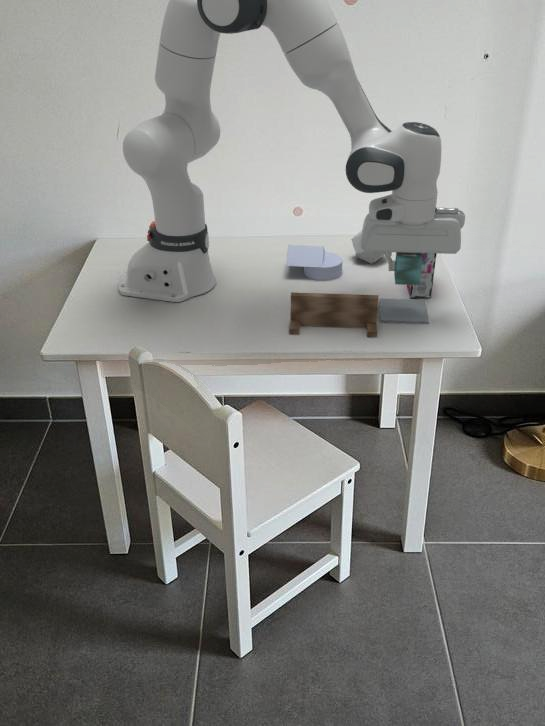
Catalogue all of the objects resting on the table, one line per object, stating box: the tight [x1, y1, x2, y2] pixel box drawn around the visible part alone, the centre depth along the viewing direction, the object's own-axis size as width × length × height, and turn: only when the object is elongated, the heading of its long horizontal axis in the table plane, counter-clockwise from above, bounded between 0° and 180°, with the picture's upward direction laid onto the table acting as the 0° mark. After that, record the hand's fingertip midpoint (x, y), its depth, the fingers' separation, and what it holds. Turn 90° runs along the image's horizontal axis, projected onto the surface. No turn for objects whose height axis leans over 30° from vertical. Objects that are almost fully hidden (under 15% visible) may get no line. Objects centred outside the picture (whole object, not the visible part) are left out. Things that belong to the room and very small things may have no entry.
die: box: [350, 230, 385, 265], centre depth 180 cm, size 8×9×10 cm
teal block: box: [393, 252, 422, 286], centre depth 153 cm, size 5×5×6 cm
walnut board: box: [288, 291, 380, 338], centre depth 151 cm, size 18×5×7 cm, turn 85°
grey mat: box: [379, 297, 430, 325], centre depth 159 cm, size 10×10×1 cm
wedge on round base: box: [285, 244, 343, 281], centre depth 175 cm, size 9×7×13 cm
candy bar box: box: [406, 253, 438, 299], centre depth 164 cm, size 11×5×16 cm, turn 178°
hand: (407, 270), depth 154 cm, fingers closed on teal block, 5 cm apart
